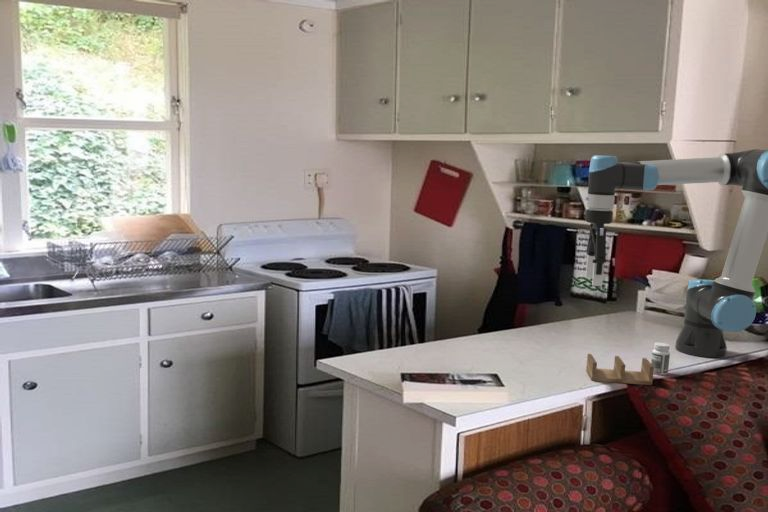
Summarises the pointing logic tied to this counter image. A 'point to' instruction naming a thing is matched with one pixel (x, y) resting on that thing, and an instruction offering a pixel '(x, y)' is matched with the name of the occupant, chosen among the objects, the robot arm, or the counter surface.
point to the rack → (620, 372)
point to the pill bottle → (660, 358)
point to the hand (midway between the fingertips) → (593, 281)
